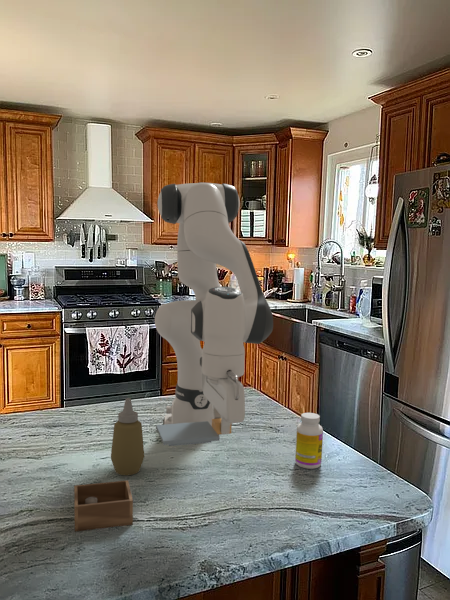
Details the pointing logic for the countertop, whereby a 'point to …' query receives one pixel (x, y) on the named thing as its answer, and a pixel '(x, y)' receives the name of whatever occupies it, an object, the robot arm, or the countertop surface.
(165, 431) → the lid
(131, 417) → the squeeze bottle
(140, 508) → the countertop surface
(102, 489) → the walnut box
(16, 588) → the countertop surface
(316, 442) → the supplement bottle
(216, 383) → the robot arm
